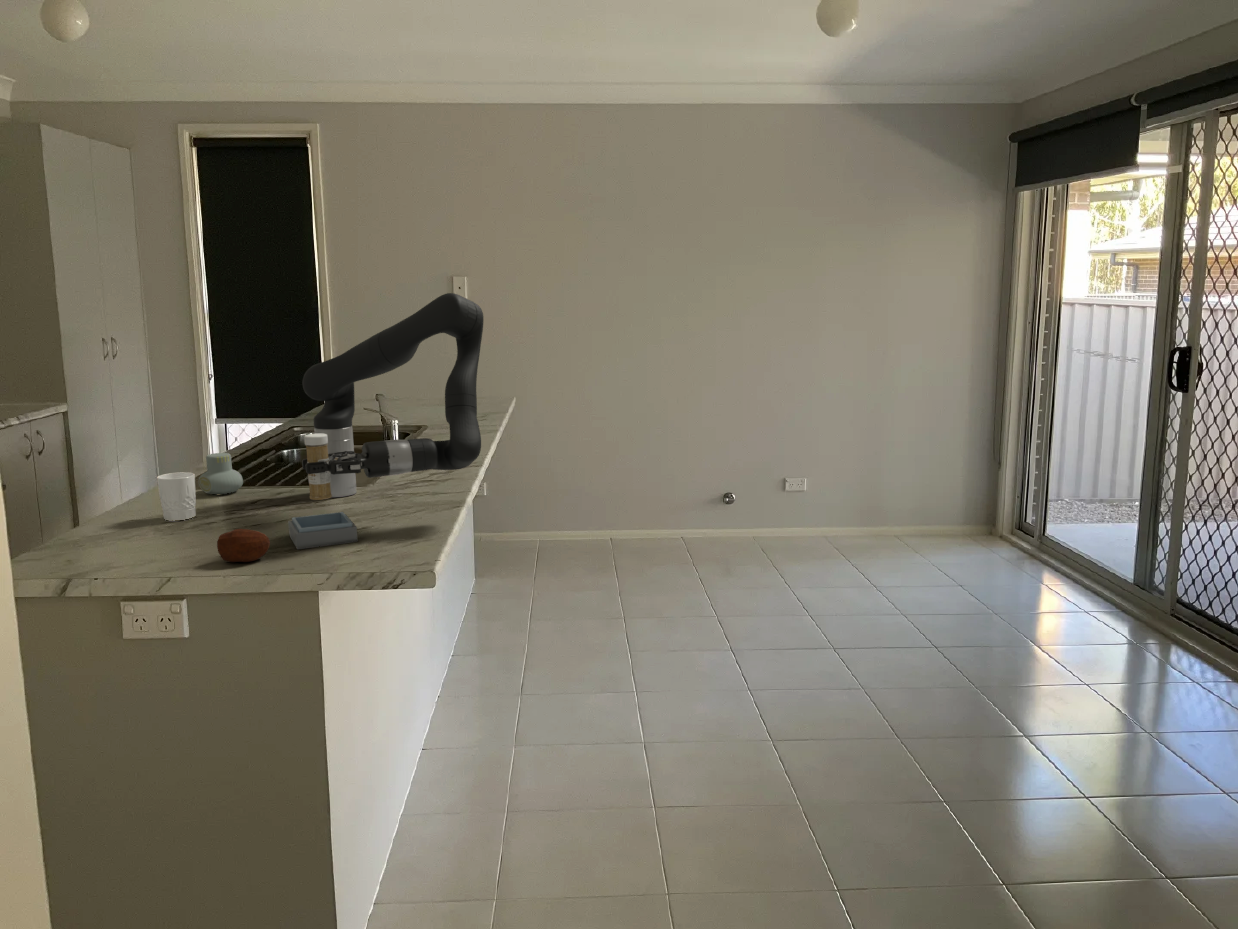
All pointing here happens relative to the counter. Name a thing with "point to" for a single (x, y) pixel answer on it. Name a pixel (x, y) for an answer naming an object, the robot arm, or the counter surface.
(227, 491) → the air freshener
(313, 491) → the sprinkles bottle
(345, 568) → the counter surface
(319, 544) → the blue square tray
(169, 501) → the white cup
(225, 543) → the potato
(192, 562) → the counter surface
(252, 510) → the counter surface
